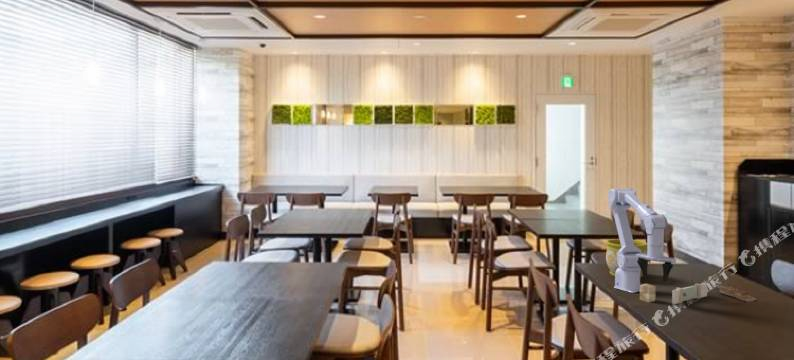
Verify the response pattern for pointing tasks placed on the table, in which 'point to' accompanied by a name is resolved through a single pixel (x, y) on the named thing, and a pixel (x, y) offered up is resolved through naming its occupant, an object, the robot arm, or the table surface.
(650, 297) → the block
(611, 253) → the flowerpot
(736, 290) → the wooden fragment
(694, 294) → the door
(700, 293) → the wall frame
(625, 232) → the robot arm
